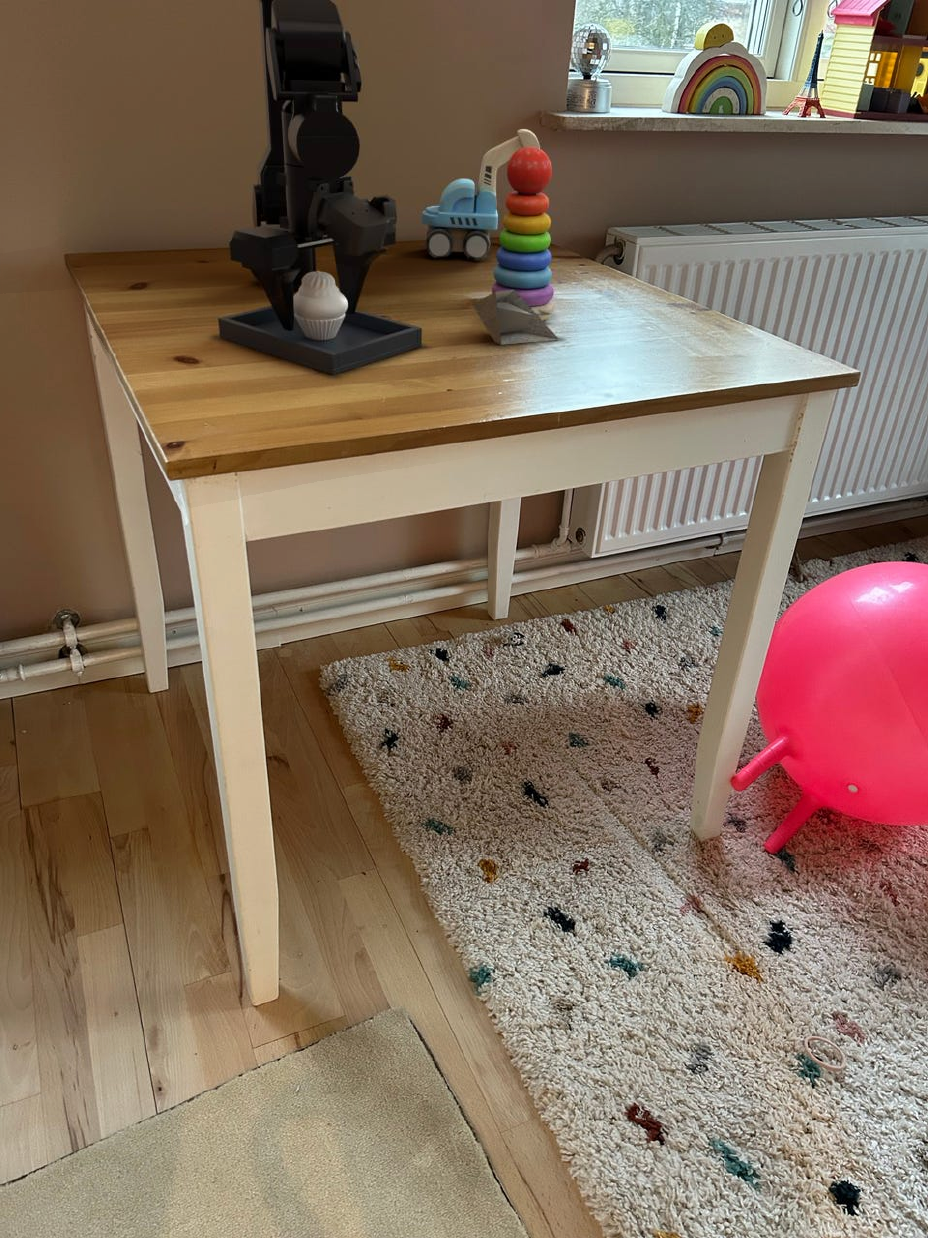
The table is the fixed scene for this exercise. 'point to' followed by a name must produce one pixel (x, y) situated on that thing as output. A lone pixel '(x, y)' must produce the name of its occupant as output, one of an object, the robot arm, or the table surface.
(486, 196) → the toy excavator
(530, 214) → the stacking toy
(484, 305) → the paper boat
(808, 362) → the table surface
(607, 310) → the table surface
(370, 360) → the tray
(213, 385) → the table surface
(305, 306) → the muffin
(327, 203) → the robot arm
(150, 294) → the table surface
